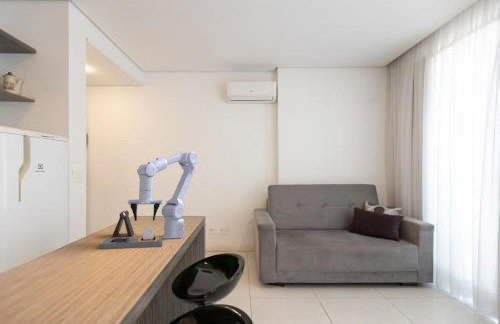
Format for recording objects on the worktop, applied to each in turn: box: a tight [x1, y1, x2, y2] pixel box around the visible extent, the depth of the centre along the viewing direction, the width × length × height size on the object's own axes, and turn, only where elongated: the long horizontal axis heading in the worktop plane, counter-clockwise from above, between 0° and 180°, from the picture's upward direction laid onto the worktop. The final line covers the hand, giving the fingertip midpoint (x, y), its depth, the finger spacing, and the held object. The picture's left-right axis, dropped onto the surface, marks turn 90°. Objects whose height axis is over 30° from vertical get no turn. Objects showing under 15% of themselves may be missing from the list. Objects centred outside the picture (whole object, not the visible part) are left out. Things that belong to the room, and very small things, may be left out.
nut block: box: [142, 226, 155, 241], centre depth 126 cm, size 4×4×7 cm
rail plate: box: [100, 236, 164, 250], centre depth 124 cm, size 24×10×2 cm, turn 106°
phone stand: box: [111, 210, 135, 238], centre depth 142 cm, size 9×6×12 cm, turn 100°
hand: (144, 220), depth 128 cm, fingers open, 7 cm apart
